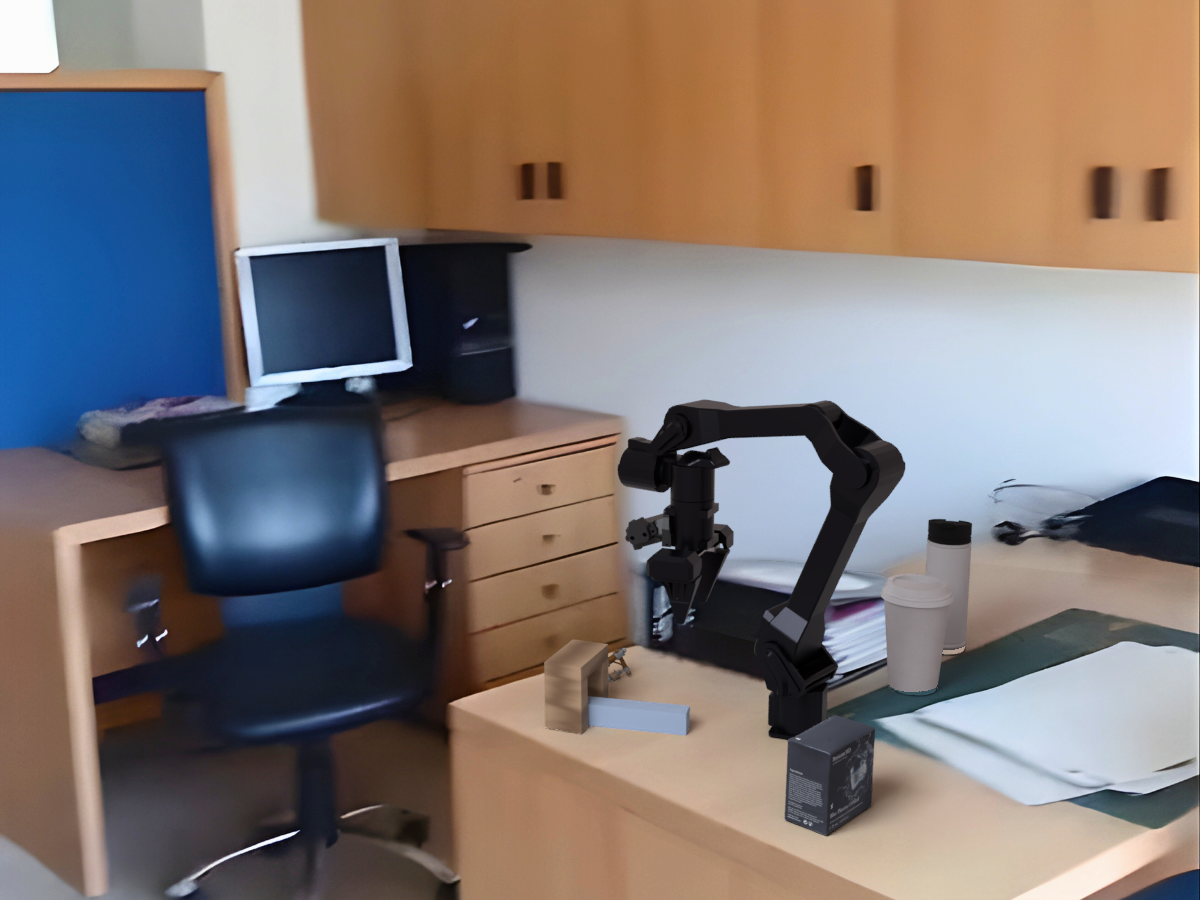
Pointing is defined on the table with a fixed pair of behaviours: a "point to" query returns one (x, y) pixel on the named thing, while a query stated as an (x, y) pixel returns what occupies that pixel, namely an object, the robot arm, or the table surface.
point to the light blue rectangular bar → (638, 715)
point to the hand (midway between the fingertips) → (691, 612)
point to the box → (829, 774)
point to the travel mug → (951, 572)
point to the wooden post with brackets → (618, 655)
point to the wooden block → (574, 684)
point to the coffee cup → (915, 629)
